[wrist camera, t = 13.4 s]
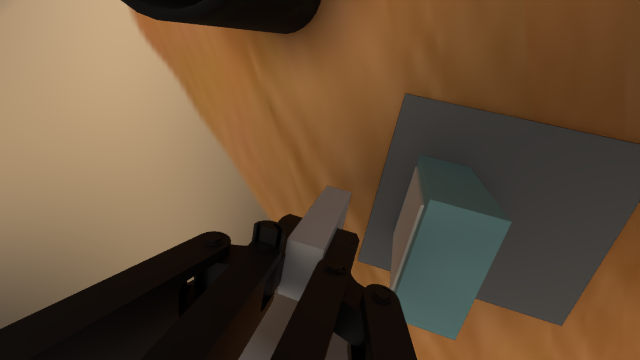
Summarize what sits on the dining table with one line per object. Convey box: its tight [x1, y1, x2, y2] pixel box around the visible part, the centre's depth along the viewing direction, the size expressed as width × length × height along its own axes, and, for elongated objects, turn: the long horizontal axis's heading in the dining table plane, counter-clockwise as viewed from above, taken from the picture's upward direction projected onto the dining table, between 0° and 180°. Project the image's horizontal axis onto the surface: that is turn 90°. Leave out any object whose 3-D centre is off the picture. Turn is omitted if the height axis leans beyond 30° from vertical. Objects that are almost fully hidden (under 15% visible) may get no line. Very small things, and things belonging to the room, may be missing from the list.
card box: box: [390, 155, 512, 340], centre depth 19 cm, size 4×7×9 cm, turn 168°
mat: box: [358, 94, 640, 326], centre depth 22 cm, size 14×16×1 cm
